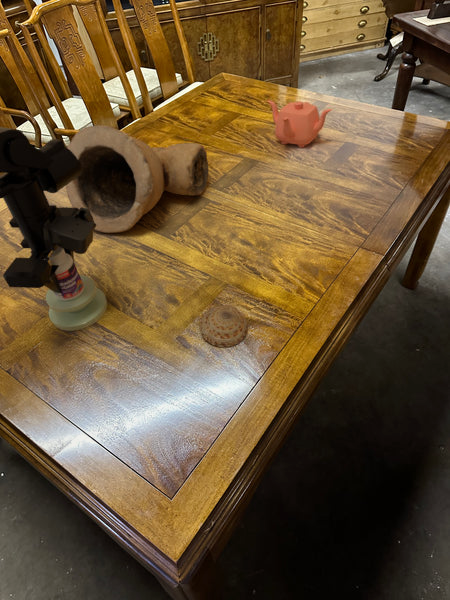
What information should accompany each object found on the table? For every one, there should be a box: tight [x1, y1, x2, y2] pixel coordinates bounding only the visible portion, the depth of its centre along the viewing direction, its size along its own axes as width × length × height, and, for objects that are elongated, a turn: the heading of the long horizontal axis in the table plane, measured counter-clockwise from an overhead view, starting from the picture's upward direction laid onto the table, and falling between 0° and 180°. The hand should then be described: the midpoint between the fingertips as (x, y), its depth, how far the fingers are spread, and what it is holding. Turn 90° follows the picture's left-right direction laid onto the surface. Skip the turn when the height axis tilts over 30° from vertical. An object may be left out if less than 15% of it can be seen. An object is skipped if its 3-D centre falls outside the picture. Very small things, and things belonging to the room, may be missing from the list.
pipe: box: [65, 124, 209, 234], centre depth 103 cm, size 23×29×30 cm
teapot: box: [267, 100, 333, 148], centre depth 121 cm, size 14×14×11 cm
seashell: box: [199, 304, 248, 348], centre depth 74 cm, size 8×6×8 cm
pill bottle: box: [48, 246, 84, 301], centre depth 75 cm, size 5×5×10 cm
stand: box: [45, 274, 108, 332], centre depth 80 cm, size 11×11×5 cm
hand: (65, 281), depth 76 cm, fingers closed on pill bottle, 5 cm apart
